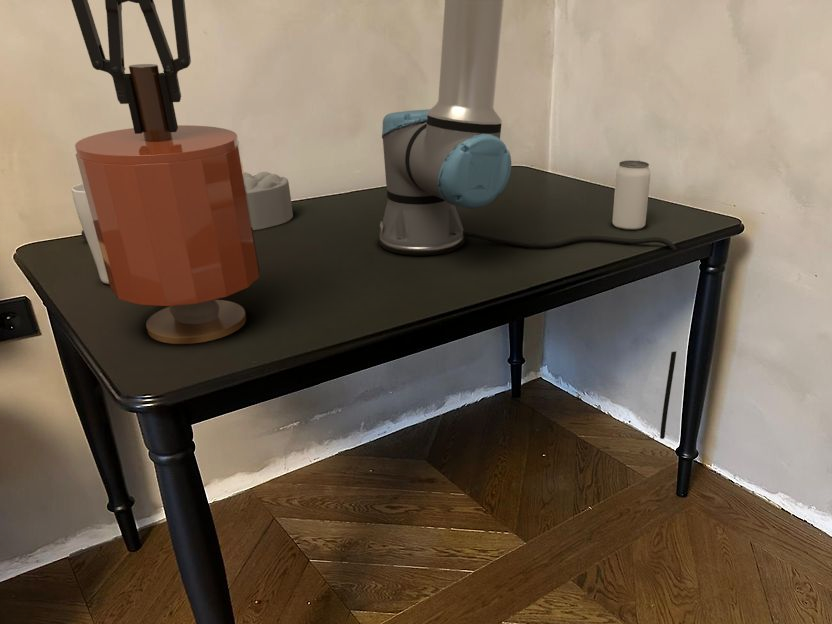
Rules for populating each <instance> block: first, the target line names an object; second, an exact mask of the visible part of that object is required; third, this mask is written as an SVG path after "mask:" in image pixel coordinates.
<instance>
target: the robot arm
mask: <svg viewBox="0 0 832 624" xmlns="http://www.w3.org/2000/svg"><path fill="white" fill-rule="evenodd" d="M504 1H505V0H444V7H443V8H444V11H443V23H442V24H443V25H442V37H441V52H440V53H441V54H440V69H439V83H438V100H437V102H436V103H435V104H434V105H433V107H431V108H430V109H427V108H426V109H415V110H403V111H395V112H394V111H393V112H390V113H387V114H386V115H385V116H384V117H383V119H382V127H381V128H382V132H381V139H382V145H383V147H382V149H383V160H384V161H383V162H384V171H385V174H384V175H385V184H386V198H387V200H386V207H385V210H384V213H383V219H382V220H381V221H380V224H379V228H380V229H379V244H380V246H381V247H382V248H383V249H384V250H385V251H388V252H390V253H393V254H398V255H403V256H413V257H414V256H419V257H421V256H422V257H423V256H434V255H441V254H447V253H449V252H452V251H455V250H458V249H459V248H461V247H462V246H463V245H464V244H465V237H467V238H472V239H477V240H478V239H479V240H482V241H486V242H492V243H497V244H502V245H508V246H515V247H521V248H531V249H532V248H533V249H547V248H549V249H550V248H557V247H561V246H566V245H569V244H574V243H578V242H579V243H580V242H607V243H608V242H609V243H616V244H626V245H642V244H649V243H650V244H651V243H658V244H659V243H660V244H663V245H664V246H666V247H668V248H669V249H671V250H675V251H676V250H678V248H677V247H676V245H675V244H674V243H672V242H671V241H670V240H668V239H666V238H665V237H658V236H652V237H651V236H650V237H643V238H642V237H641V238H626V237H616V236H608V235H607V236H606V235H579V236H573V237H568V238H564V239H561V240H557V241H550V242H549V241H548V242H537V241H536V242H533V241H523V240H515V239H508V238H502V237H497V236H493V235H488V234H483V233H479V232H473V231H468V230H464V227H463V225H462V222H461V219H460V215H459V212H458V210H457V207H462V208H465V209H479V208H482V207H485V206H488V205H490V203H491V204H492V202H494V200H495V199H496V198H497V197H498V196H500V195H501V194H502V192H503V191H504V190H505V188H506V186H507V184H508V182H509V179H510V176H511V173H512V156H511V153H510V151H509V150H508V148H507V145H506V144H505V142H504V141H502V139H501V135H502V134H501V133H502V119H501V117H500V116H499V114H498V113H497V112H496V110H495V108H494V106H495V96H496V86H497V75H498V65H499V56H500V55H499V54H500V43H501V33H502V25H503V24H502V21H503V13H504V4H505V3H504ZM127 2H131V3H134V4H138V5H139V8H140V10H141V12H142V14H143V17H144V20H145V22H146V26H147V28H148V31H149V33H150V36H151V40H152V42H153V44H154V48H155V51H156V53H157V56H158V58H159V61H160V64H161V67H162V72H159V73H160V74H159V75H158V77H159V82H160V87H161V92H162V97H163V102H164V107H165V112H166V117H167V122H168V127H169V132H176V131H177V129H178V120H177V115H176V110H175V105H174V103H180V102H181V99H182V92H181V87H180V82H179V77H178V74H179V72H180V71H182V70H184V69H187V68H189V67H190V65H191V64H192V63H191V62H192V59H191V49H190V41H189V31H188V30H189V29H188V21H187V11H186V1H185V0H171V8H172V17H173V26H174V34H175V44H176V45H175V46H176V52H177V58H174V56H173V54H172V50H171V49H170V48H171V47H170V45H169V43H168V40H167V37H166V34H165V31H164V28H163V26H162V23H161V19H160V17H159V14H158V11H157V7H156V4H155V2H154V0H104V6H105V11H106V25H107V41H108V43H107V44H108V58H109V59H107V58H106V54H105V52H104V49H103V45H102V42H101V39H100V36H99V32H98V29H97V27H96V23H95V19H94V16H93V13H92V10H91V6H90V3H89V1H88V0H71V4H72V7H73V10H74V13H75V17H76V19H77V22H78V25H79V28H80V32H81V35H82V39H83V41H84V44H85V47H86V50H87V51H86V52H87V54H88V56H89V60H90V64H91V66H92V68H93V69H94V70H96V71H102V72H105V73H108V74H109V75H110V76H111V78H112V80H113V85H114V90H115V94H116V98H117V101H118V103H119V104H120V105H128V109H129V114H130V117H131V122H132V128H134V132H135V134H142V132H143V130H142V125H141V121H140V116H139V112H138V107H137V102H136V98H135V93H134V89H133V84H132V79H131V75H130V73H126V72H125V71H126V67H125V51H124V50H125V49H124V32H123V16H122V13H123V4H124V3H127ZM670 352H671V353H670V360H669V365H668V374H667V381H666V387H665V393H664V402H663V409H662V415H661V423H660V434H659V438H660V439H661V440H665V438H666V428H667V420H668V412H669V405H670V397H671V392H672V385H673V379H674V371H675V365H676V358H677V351H670Z"/></svg>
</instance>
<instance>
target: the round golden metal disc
mask: <svg viewBox="0 0 832 624" xmlns="http://www.w3.org/2000/svg"><path fill="white" fill-rule="evenodd" d="M215 301H216V302H217V304H218V305H219V313H218V317H217V318H216V319H215V320H213V321H211V322H207V323H202V324H185V323H180V322H178V321H176V320H175V318H174V317H173V315H172V314H171V312H170V306H166V307H164V308H162V309H160V310H159V311H157V312H155V313H153V314H152V315H151V316H150V317H149V318H148V319H147V321H146V322H145V323H146V325H145V327H146V330H147V334H148V336H149V337H150V338H151V339H153V340H155V341H158V342H160V343H165V344H172V345H191V344H192V345H193V344H199V343H207V342H210V341H215V340H218V339H221V338H224V337H227V336H230V335H231V334H234V333H236V332H237V331H239V330H240V329H241V328H242V327H243V326H244V325H245V324H246V322H247V315H246V310H245V308H244V307H243V306H242V305H241V304H239V303H237V302H233V301H229V300H224V299H215Z"/></svg>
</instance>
